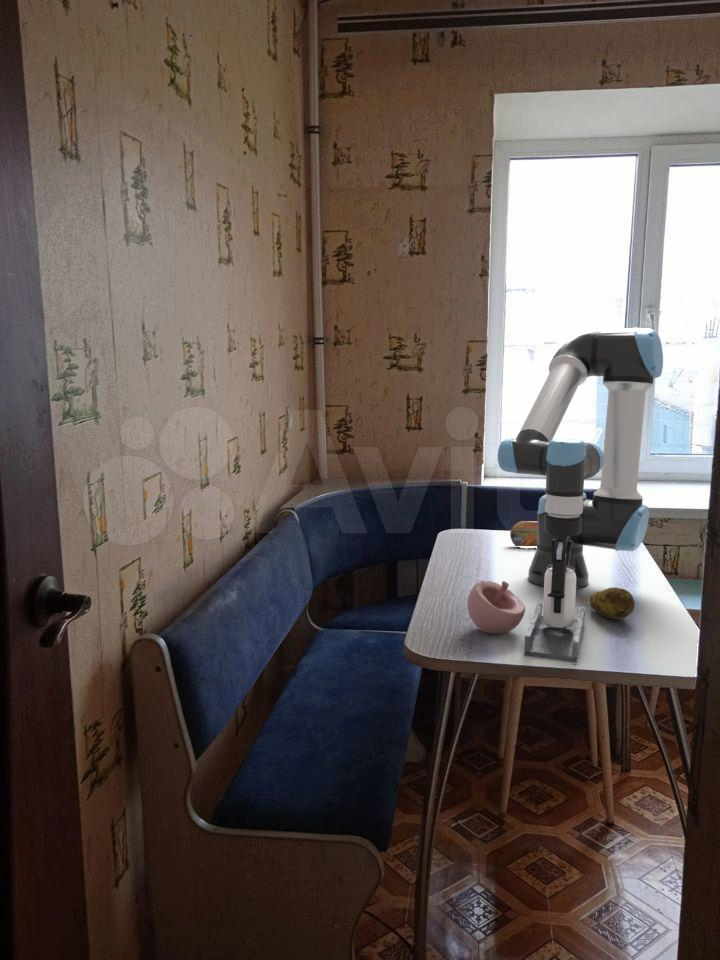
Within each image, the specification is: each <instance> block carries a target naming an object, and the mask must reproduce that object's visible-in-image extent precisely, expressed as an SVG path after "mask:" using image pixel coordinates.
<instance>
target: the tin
mask: <svg viewBox="0 0 720 960" xmlns="http://www.w3.org/2000/svg"><path fill="white" fill-rule="evenodd" d="M537 522H538V520H537V521H534V520H533V521H531V520H528V521H527V520H526V521H525V520H524V521H523V520H521V521H519V522H517V523H515V524H514V525H513V526H512V527H511V530H510V533H509V534H510V535H509V537H510V539H511V542H512V543H513V545H514V546H515V547H516V546H537Z"/></svg>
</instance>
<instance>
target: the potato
mask: <svg viewBox="0 0 720 960" xmlns="http://www.w3.org/2000/svg"><path fill="white" fill-rule="evenodd" d="M588 603H589V606H590V608H591V609H592V610H593V611H595V612H596V613H599V614H602V615H603V616H604V617H606V618H608V619H613V620H616V619H617V620H619V619H625V618H627V617H629V616H630V615H631V614H632V613H633V611H634V610H635V606H636V604H635V599H634V597H633V595H632V594H631V593H630V592H629V591H628V590H627V589H625V588H620V587H608V588H605V589H603V590H601V591H596V592H593V593H592V594H591V595H589V598H588Z"/></svg>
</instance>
